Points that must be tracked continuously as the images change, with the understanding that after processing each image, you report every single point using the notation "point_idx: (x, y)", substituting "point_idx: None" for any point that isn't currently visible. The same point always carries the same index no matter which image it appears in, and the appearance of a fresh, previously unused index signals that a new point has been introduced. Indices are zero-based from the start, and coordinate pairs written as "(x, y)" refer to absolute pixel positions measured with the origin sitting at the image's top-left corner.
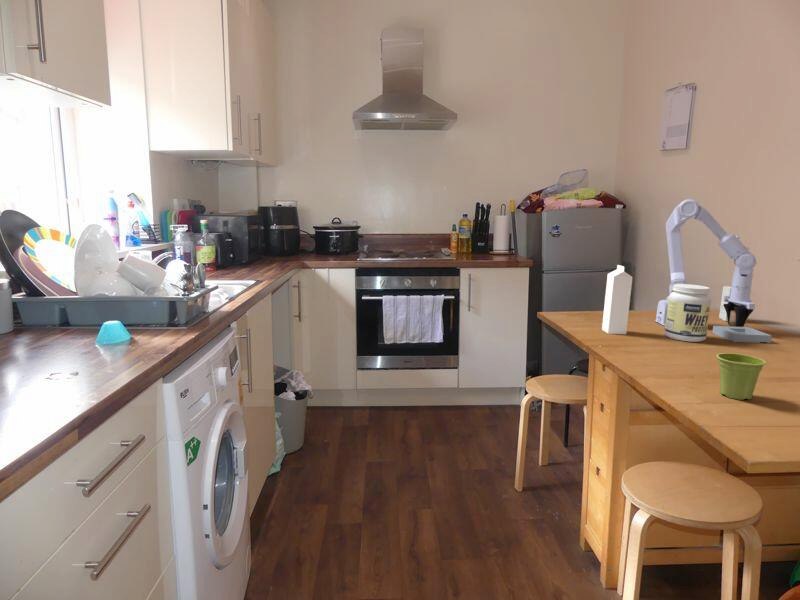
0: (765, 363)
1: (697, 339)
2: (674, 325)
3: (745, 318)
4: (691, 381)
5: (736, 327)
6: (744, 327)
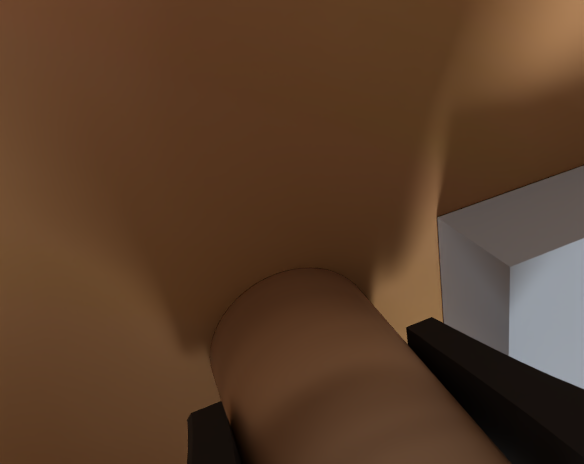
0: None
1: None
2: None
3: (575, 416)
4: None
5: None
6: (544, 328)
